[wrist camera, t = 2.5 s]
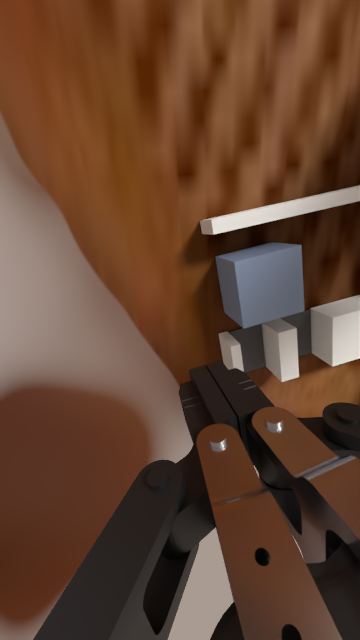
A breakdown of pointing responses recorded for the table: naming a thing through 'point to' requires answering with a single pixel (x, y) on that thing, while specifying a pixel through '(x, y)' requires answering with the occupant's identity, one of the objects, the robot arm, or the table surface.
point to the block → (261, 283)
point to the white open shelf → (298, 329)
